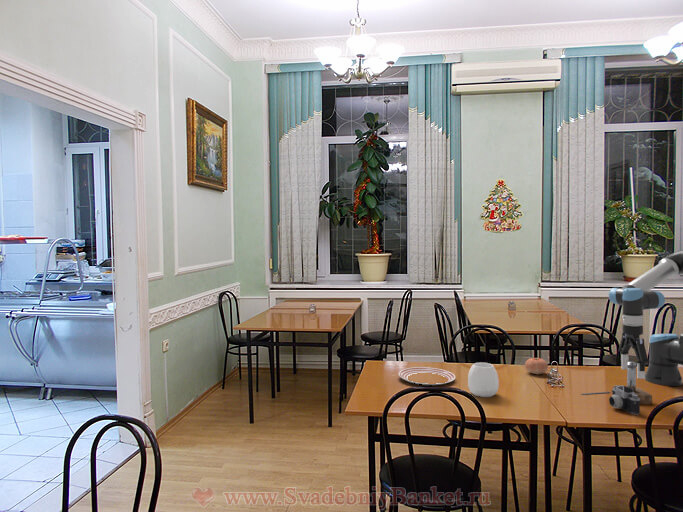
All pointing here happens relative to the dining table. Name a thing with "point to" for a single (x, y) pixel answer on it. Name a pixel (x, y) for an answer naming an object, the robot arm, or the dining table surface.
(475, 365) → the cup
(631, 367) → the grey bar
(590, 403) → the dining table surface
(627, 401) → the camera
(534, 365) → the tomato
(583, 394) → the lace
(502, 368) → the dining table surface
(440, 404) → the dining table surface
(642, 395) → the brown square tray
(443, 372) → the dinner plate
